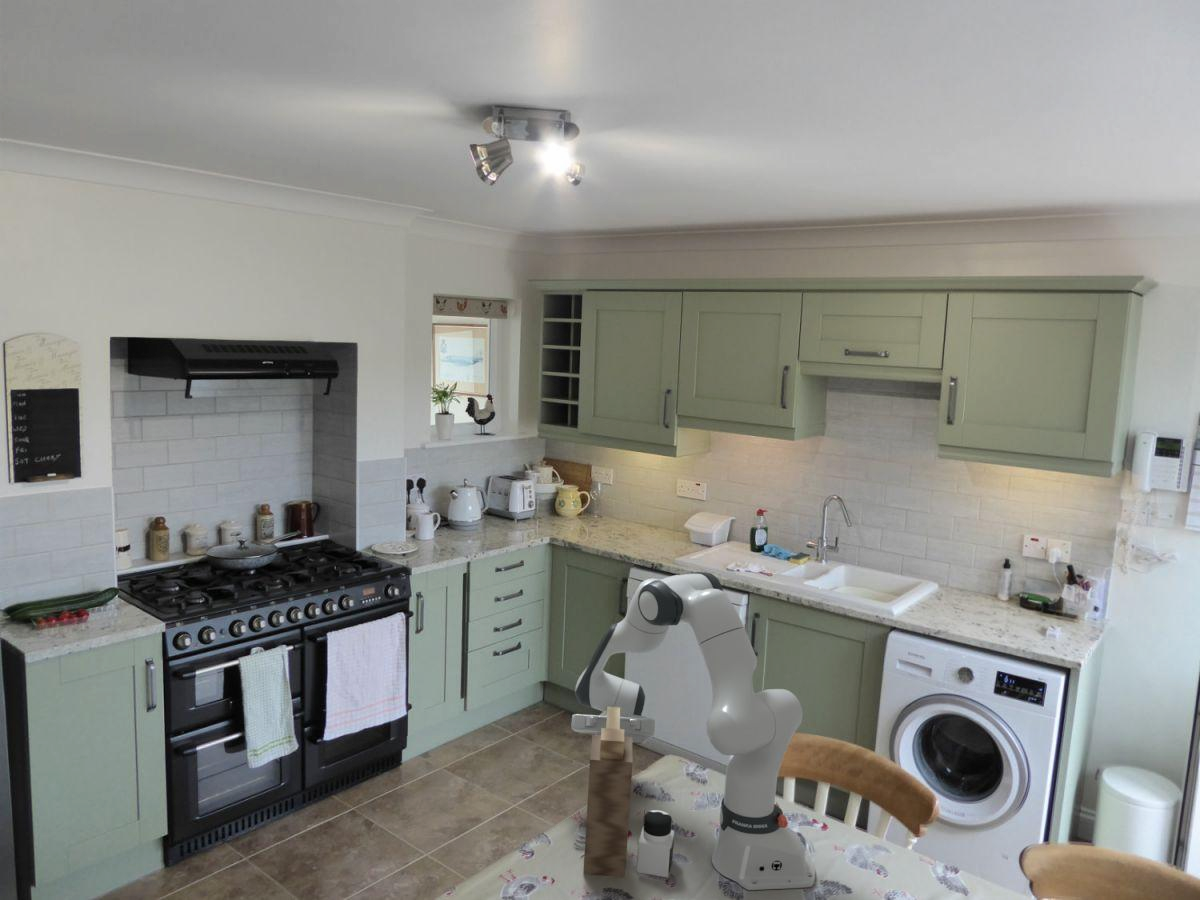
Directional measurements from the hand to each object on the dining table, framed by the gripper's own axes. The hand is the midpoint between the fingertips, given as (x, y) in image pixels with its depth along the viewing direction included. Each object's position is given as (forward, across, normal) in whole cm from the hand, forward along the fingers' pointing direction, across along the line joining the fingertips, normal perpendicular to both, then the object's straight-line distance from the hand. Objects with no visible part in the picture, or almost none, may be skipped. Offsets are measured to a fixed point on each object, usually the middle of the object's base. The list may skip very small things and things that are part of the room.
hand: (613, 721), depth 205 cm
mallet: (+10, 0, +5) cm, 11 cm away
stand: (0, 0, +30) cm, 30 cm away
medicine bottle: (+1, +11, +30) cm, 32 cm away
